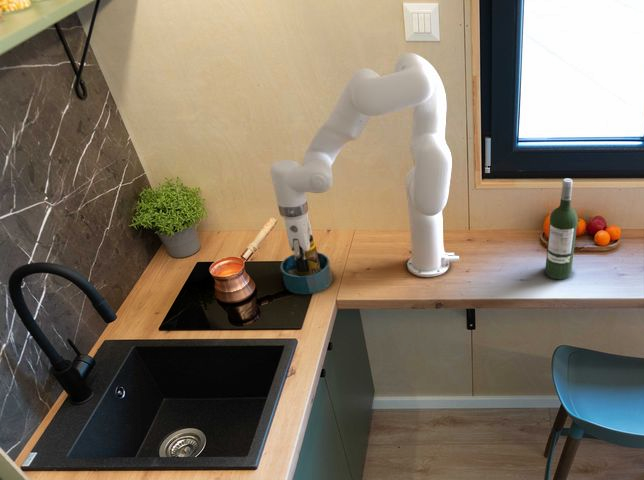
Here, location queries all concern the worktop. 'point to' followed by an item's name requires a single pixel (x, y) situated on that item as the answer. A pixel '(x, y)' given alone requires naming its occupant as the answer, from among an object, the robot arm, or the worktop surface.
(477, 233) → the worktop surface
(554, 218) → the wine bottle
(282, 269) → the bowl
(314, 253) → the condiment
